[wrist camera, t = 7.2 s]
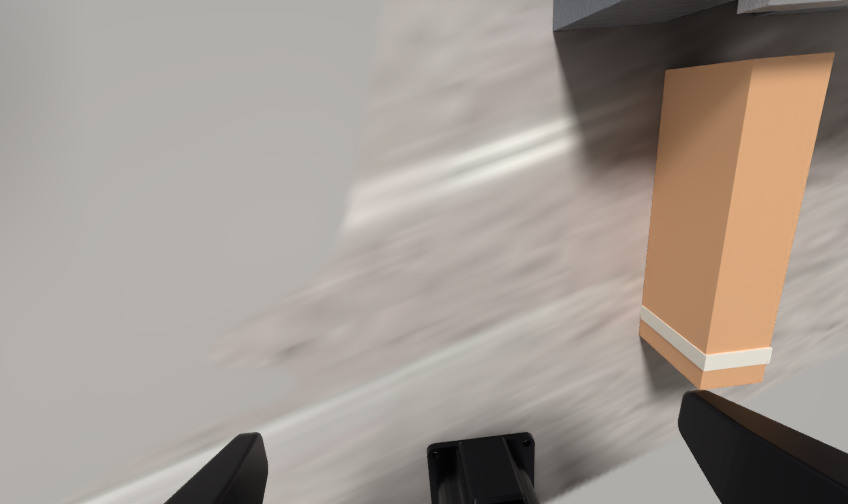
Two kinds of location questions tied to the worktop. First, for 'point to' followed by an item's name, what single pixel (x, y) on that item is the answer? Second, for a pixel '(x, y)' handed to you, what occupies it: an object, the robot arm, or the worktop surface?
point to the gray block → (668, 10)
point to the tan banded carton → (728, 210)
